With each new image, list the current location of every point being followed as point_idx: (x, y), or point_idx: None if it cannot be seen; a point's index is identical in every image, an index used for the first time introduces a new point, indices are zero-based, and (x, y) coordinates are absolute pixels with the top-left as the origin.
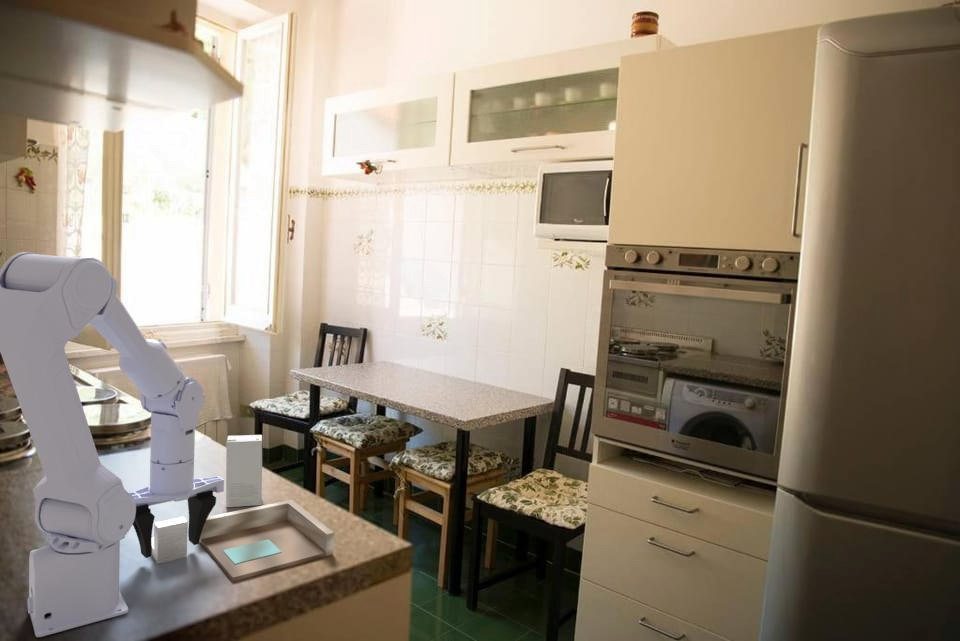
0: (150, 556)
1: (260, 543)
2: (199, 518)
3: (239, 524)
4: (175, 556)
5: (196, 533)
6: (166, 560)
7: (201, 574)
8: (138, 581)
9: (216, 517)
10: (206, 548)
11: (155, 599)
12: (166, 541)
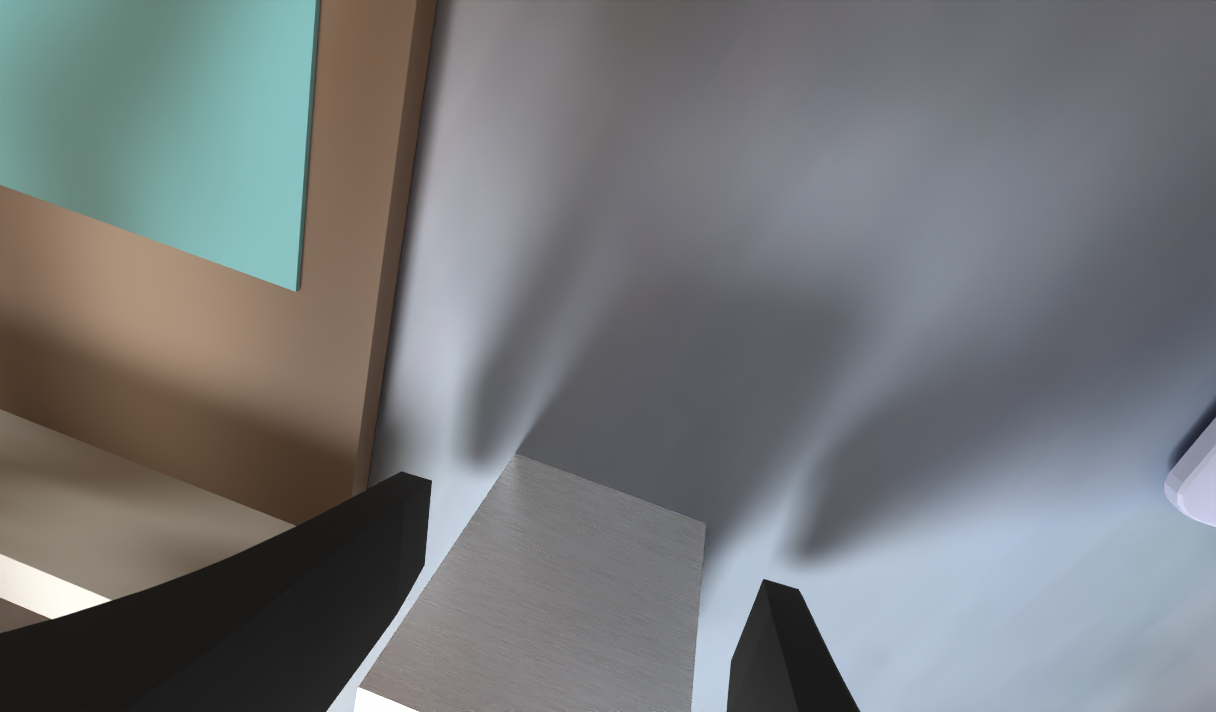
0: (768, 583)
1: (27, 156)
2: (222, 630)
3: (56, 476)
4: (582, 494)
5: (364, 528)
6: (645, 506)
7: (592, 125)
8: (975, 419)
9: None
10: (368, 430)
11: (1169, 10)
12: (621, 622)
